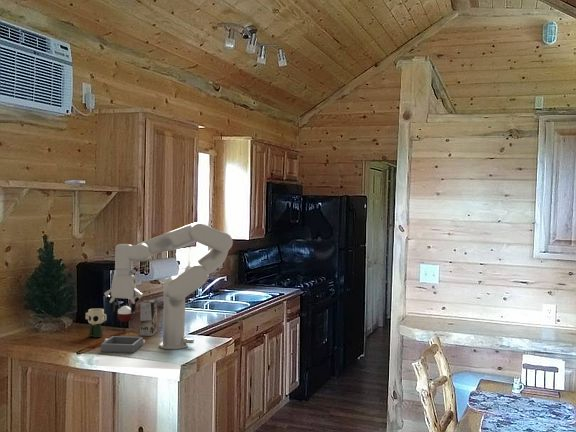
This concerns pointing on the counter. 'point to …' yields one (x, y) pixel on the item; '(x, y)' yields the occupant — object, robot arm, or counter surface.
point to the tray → (122, 344)
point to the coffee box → (148, 317)
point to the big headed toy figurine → (96, 321)
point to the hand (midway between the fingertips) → (123, 311)
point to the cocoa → (124, 313)
